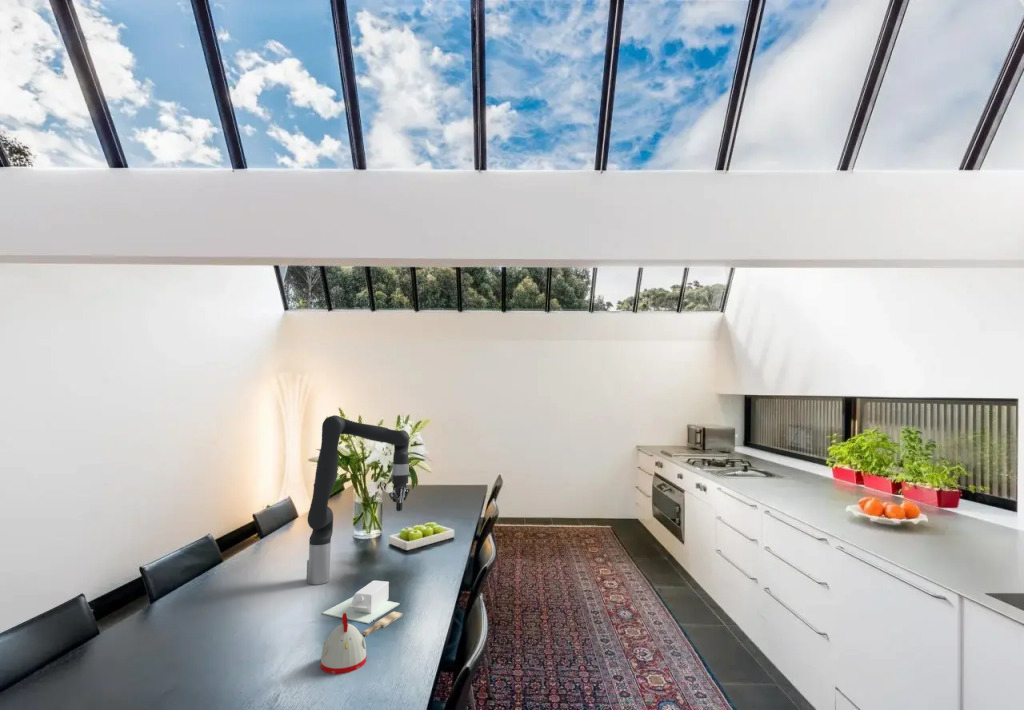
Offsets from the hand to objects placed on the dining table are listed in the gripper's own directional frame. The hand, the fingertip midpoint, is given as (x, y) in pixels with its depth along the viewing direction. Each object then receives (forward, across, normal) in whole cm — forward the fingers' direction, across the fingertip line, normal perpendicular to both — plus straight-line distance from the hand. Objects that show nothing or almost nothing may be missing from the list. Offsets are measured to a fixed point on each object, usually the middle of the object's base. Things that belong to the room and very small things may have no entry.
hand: (399, 510), depth 249 cm
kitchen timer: (+31, +70, +32) cm, 83 cm away
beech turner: (+31, +42, +25) cm, 58 cm away
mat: (+31, +35, +9) cm, 47 cm away
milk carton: (+27, +24, +10) cm, 37 cm away
